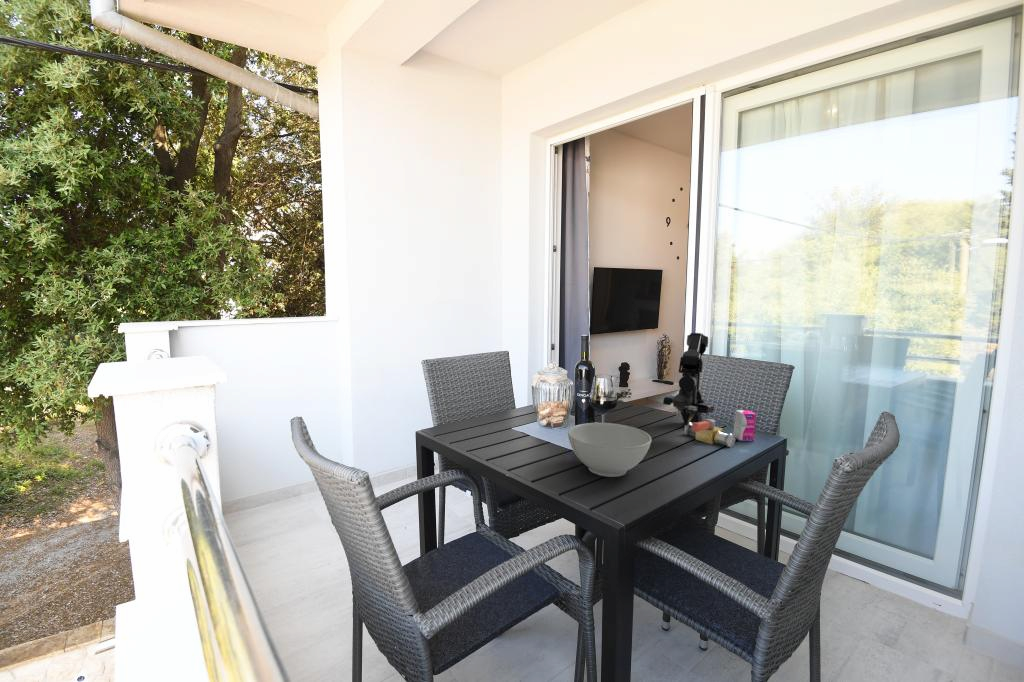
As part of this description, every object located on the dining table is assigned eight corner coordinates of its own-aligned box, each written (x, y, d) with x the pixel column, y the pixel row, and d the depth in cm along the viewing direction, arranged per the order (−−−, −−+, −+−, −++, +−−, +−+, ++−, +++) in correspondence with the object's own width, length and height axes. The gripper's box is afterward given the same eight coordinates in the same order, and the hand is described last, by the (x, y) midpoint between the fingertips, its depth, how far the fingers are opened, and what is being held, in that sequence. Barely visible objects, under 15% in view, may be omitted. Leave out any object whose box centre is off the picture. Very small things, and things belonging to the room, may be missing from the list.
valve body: (682, 435, 200) (683, 423, 199) (692, 432, 204) (693, 420, 204) (726, 448, 185) (727, 435, 184) (736, 445, 189) (737, 432, 188)
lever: (708, 425, 196) (708, 418, 196) (716, 427, 193) (716, 420, 193) (689, 430, 189) (689, 422, 189) (697, 432, 186) (698, 424, 186)
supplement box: (739, 441, 194) (742, 413, 193) (732, 436, 200) (735, 409, 199) (754, 441, 194) (756, 413, 193) (746, 437, 200) (749, 409, 199)
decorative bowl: (549, 468, 161) (551, 432, 159) (597, 450, 179) (599, 418, 178) (619, 494, 142) (621, 454, 140) (664, 471, 161) (667, 435, 159)
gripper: (656, 384, 192) (654, 423, 194) (701, 393, 178) (698, 435, 180) (671, 381, 200) (669, 418, 201) (716, 389, 186) (712, 429, 188)
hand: (686, 425), depth 192 cm, fingers closed
